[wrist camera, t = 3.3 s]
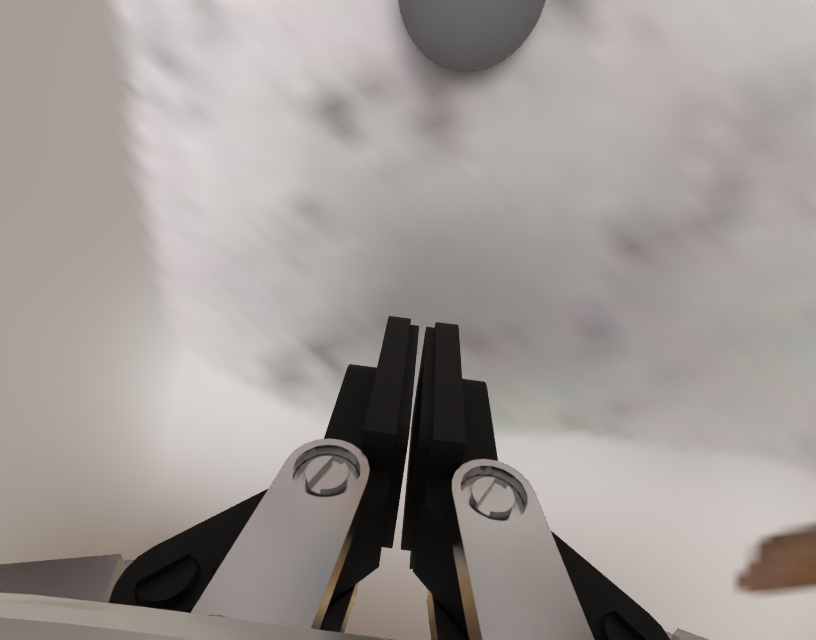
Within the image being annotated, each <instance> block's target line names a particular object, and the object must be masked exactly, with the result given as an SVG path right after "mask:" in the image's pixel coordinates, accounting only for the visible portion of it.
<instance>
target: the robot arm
mask: <svg viewBox="0 0 816 640" xmlns="http://www.w3.org/2000/svg"><path fill="white" fill-rule="evenodd" d="M410 323H411V319H408V318H400V317H393V316H389V318H388V322H387V327H386V331H385V335H384V340H383V344H382V349H381V353H380V357H379V362H378V366H377V368H375V367H367V366H360V365H352V364H350V365H349V366H348V368H347V371H346V374H345V377H344V380H343V383H342V386H341V389H340V392H339V395H338V398H337V401H336V404H335V407H334V410H333V413H332V416H331V419H330V422H329V425H328V428H327V431H326V434H325V437H324V439H320V440H315V441H312V442H309V443H306V444H304V445H303V446H301V447H299V448H298V449H296V450H295V451H294V452H293V453H292V454H291V455H290V456H289V457H288V459H287V460H286V462H285V463H284V465H283V466H282V468H281V470H280V471H279V473H278V474H277V476H276V478H275V479H274V481H273V482H272V484H271V486H270V487H269V489H267V490H265V491H263V492H261V493H259V494H257V495H255V496H253V497H251V498H249V499H247V500H245V501H243V502H241V503H239V504H237V505H235V506H233V507H231V508H229V509H227V510H225V511H223V512H221V513H219V514H217V515H216V516H213V517H211V518H209V519H207V520H205V521H203V522H201V523H199V524H197V525H196V526H194V527H192V528H190V529H188V530H186V531H184V532H182V533H180V534H178V535H176V536H174V537H172V538H170V539H168V540H166V541H164V542H162V543H160V544H158V545H156V546H154V547H153V548H151V549H149V550H148V551H146V552H145V553H143V554H142V555H140V556H138V557H137V558H136V559H135V560H124V561H123V558H122V555H121V554H113V555H102V556H91V557H79V558H68V559H58V560H45V561H33V562H22V563H11V564H0V640H392V639H384V638H377V637H369V636H362V635H355V634H347V633H344V632H345V629H346V626H347V623H348V619H349V616H350V613H351V610H352V607H353V604H354V601H355V597H356V594H357V589H358V584H359V581H360V580H362V579H363V578H365V577H366V576H367V575H369V574H370V573H371V572H372V571H374V570H375V569H377V568H378V567H379V562H380V554H381V547H386V548H392V547H393V540H394V533H395V527H396V520H397V513H398V507H399V499H400V493H401V486H402V480H403V473H404V465H405V459H406V453H407V446H408V438H409V429H410V419H411V409H412V398H413V387H414V376H415V365H416V355H417V344H418V333H419V326H417V325H410ZM401 550H408V551H411V555H410V569H413V572H414V573H415V575H416V576H417V577H418V578H419V579H420V580H421V582H422V583H423V584H424V585H425V586H426V587H427V607H428V617H429V626H430V634H431V640H708V639H705V638H703V637H700V636H697V635H694V634H692V633H689V632H686V631H683V630H681V629H677V630H676V632H675V633H674V634H671V633H668V632H666V631H664V629H663V628H662V626H661V625H660V624H659V623H658V622H657V621H656V620H655V619H654V618H653V617H652V616H651V615H650V614H649V613H648V612H646V611H645V610H644V609H643V608H642V607H641V606H639V605H638V604H637V603H636V602H635V601H634V600H632V599H631V598H630V597H629V596H628V595H626V594H625V593H624V592H623V591H622V590H621V589H619V588H618V587H617V586H616V585H615V584H613V583H612V582H611V581H610V580H609V579H608V578H606V577H605V576H604V575H603V574H602V573H600V572H599V571H598V570H597V569H596V568H594V567H593V566H592V565H591V564H590V563H589V562H587V561H586V560H585V559H584V558H583V557H581V556H580V555H579V554H578V553H577V552H575V551H574V550H573V549H572V548H570V546H568V545H567V544H566V543H565V542H563V540H561V539H560V538H559V537H558V536H557V535H555V534H554V533H553V532H552V531H551V530H550V528H549V526H548V523H547V521H546V518H545V516H544V513H543V511H542V508H541V506H540V503H539V501H538V498H537V496H536V493H535V491H534V490H533V488H532V486H531V485H530V483H529V481H528V480H527V479H526V478H525V477H524V476H523V475H522V474H521V473H520V472H519V471H517V470H515V469H514V468H512V467H511V466H509V465H507V464H504V463H501V462H499V461H498V459H497V452H496V446H495V438H494V431H493V425H492V418H491V411H490V405H489V398H488V391H487V386H486V383H485V382H482V381H475V380H467V379H462V370H461V356H460V341H459V327H458V325H454V324H447V323H439V322H436V323H435V327H434V328H432V327H426V331H425V337H424V344H423V351H422V357H421V364H420V371H419V377H418V384H417V391H416V397H415V404H414V411H413V418H412V427H411V438H410V449H409V461H408V473H407V484H406V495H405V506H404V517H403V529H402V540H401Z"/></svg>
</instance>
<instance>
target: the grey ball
mask: <svg viewBox="0 0 816 640" xmlns="http://www.w3.org/2000/svg"><path fill="white" fill-rule="evenodd" d="M398 2H399V7H400V12H401V15H402V19H403V22H404V24H405V27H406V29H407V31H408V33H409V35H410V37H411V38H412V40H413V42H414V43H415V44H416V46H417V47H418V48H419V49H420V50H421V51H422V52H423V53H424V54H425V55H426V56H427V57H428V58H429V59H431V60H432V61H433V62H435V63H437V64H439V65H441V66H443V67H445V68H448V69H451V70H456V71H466V72H469V71H478V70H482V69H486V68H489V67H491V66H494V65H496V64H498V63H500V62H501V61H503V60H505V59H506V58H507V57H509V56H510V55H511V54H513V53H514V52H515V51H516V50H517V49H518V48H519V47H520V46H521V45H522V43H523V42H524V41H525V40H526V39H527V37H528V36H529V35H530V33H531V31H532V30H533V28H534V27H535V25H536V23H537V21H538V19H539V17H540V15H541V12H542V9H543V7H544V4H545V0H398Z"/></svg>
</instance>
